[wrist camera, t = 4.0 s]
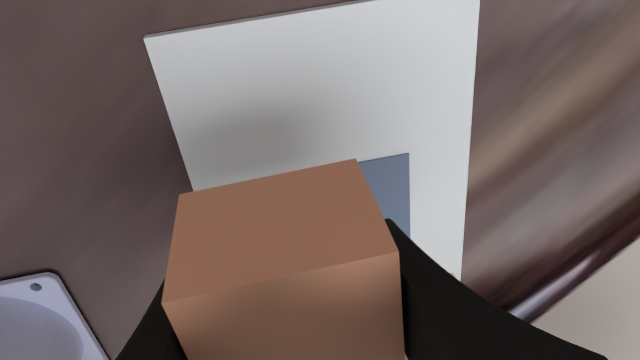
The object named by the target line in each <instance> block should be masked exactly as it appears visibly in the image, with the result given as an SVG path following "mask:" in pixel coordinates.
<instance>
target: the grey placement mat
mask: <svg viewBox="0 0 640 360" xmlns="http://www.w3.org/2000/svg"><path fill="white" fill-rule="evenodd" d="M479 5H480V0H356V1H350V2H344V3H338V4H331V5H325V6H319V7H313V8H307V9H301V10H295V11H289V12H282V13H276V14H270V15H264V16H258V17H252V18H246V19H240V20H234V21H227V22H221V23H215V24H209V25H203V26H197V27H191V28H185V29H178V30H172V31H166V32H160V33H154V34H148V35H145V36H144V38H143V39H144V42H145V45H146V48H147V51H148V54H149V57H150V60H151V63H152V67H153V70H154V73H155V76H156V79H157V82H158V85H159V88H160V91H161V94H162V97H163V100H164V103H165V106H166V109H167V112H168V115H169V118H170V121H171V124H172V127H173V130H174V133H175V136H176V139H177V142H178V145H179V148H180V151H181V155H182V158H183V161H184V164H185V167H186V170H187V173H188V176H189V179H190V182H191V185H192V188H193V191H198V190H203V189H208V188H212V187H217V186H222V185H227V184H232V183H237V182H242V181H247V180H252V179H256V178H261V177H266V176H271V175H276V174H281V173H286V172H291V171H296V170H300V169H305V168H310V167H315V166H320V165H325V164H330V163H335V162H339V161H344V160H349V159H354V158H356V160H357V162H358V164H359V166H360V168H361V170H362V173H363V175H364V177H365V179H366V181H367V183H368V186H369V188H370V190H371V192H372V194H373V196H374V199H375V201H376V203H377V205H378V207H379V209H380V212H381V214H382V216H383V218H384V219H387V218H390V219H391V220H393V221H394V222H395V223H396V225H397V226H398V227H399V228H400V229H401V230H402V231H403V232H404V233H405V234H406V235H407V236H408V237H409V238H410V239H411V240H412V241H413V242H414V243H415V244H416V245H417V246H418V247H420V248H421V249H422V250H423V251H424V252H425V253H426V254H427V255H428V256H430V257H431V258H432V259H433V260H434V261H435V262H436V263H438V264H439V265H440V266H441V267H442V268H444V269H445V270H446V271H447V272H449V273H453V274H454V276H455V277H456V279H458V280H459V281H460V279H461V264H462V250H463V235H464V221H465V207H466V192H467V178H468V163H469V149H470V135H471V120H472V106H473V91H474V77H475V63H476V48H477V34H478V19H479Z"/></svg>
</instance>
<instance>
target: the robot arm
mask: <svg viewBox="0 0 640 360" xmlns="http://www.w3.org/2000/svg"><path fill="white" fill-rule="evenodd" d="M384 220H385V222H386V225H387V227H388V229H389V231H390V233H391V235H392V238H393V240H394V242H395V244H396V246H397V248H398V251H399V262H400V279H401V297H402V315H403V333H404V350H405V354H406V357H407V359H408V360H608V359H607V358H606V357H605V356H603V355H600V354H598V353H595V352H593V351H590V350H587V349H585V348H582V347H580V346H577V345H575V344H572V343H569V342H567V341H564V340H562V339H560V338H558V337H556V336H553V335H551V334H549V333H547V332H545V331H543V330H541V329H538V328H536V327H534V326H532V325H530V324H529V323H527V322H525V321H523V320H521V319H519V318H517V317H516V316H514V315H512V314H510V313H508V312H506V311H504V310H503V309H501V308H499V307H498V306H496V305H494V304H493V303H491V302H490V301H488V300H486V299H485V298H483V297H482V296H480V295H479V294H477V293H476V292H474V291H473V290H471V289H470V288H469V287H467V286H466V285H464V284H463V283H462V282H460V281H459V280H458V279H456V278H455V277H454V276H452V275H451V274H450V273H449V272H447V271H446V270H445V269H444V268H442V267H441V266H440V265H439V264H438V263H436V262H435V261H434V260H433V259H432V258H431V257H430V256H428V255H427V254H426V253H425V252H424V251H423V250H422V249H421V248H420V247H418V246H417V245H416V244H415V243H414V242H413V241H412V240H411V239H410V238H409V237H408V236H407V235H406V234H405V233H404V232H403V231H402V230H401V229H400V228H399V227H398V226H397V225H396V223H395V222H394V221H393V220H391V219H390V218H387V219H384ZM165 278H166V277H165ZM34 283H37V284H40V285H36V284H34ZM164 284H165V279H164V281H163V283H162V284H161V286H160V288H159V290H158V292H157V294H156V296H155V297H154V299H153V301H152V303H151V304H150V306H149V308H148V310H147V311H146V313H145V315H144V316H143V318H142V320H141V321H140V323H139V325H138V326H137V328H136V330H135V331H134V333H133V334H132V336H131V337H130V339H129V340H128V342H127V343H126V345H125V346H124V348H123V349H122V351H121V353H120V354H119V355H118V357H117V358H116V360H188V358H187V356H186V354H185V352H184V350H183V348H182V346H181V344H180V342H179V340H178V337H177V335H176V333H175V331H174V329H173V327H172V325H171V323H170V321H169V319H168V317H167V315H166V312H165V310H164V308H163V306H162V304H161V302H162V296H163V290H164ZM0 360H109V359H108V358H107V356H106V354H105V353H104V351H103V349H102V348H101V346H100V344H99V343H98V341H97V339H96V338H95V336H94V334H93V333H92V331H91V329H90V328H89V326H88V324H87V323H86V321H85V320H84V318H83V316H82V315H81V313H80V311H79V310H78V308H77V306H76V305H75V303H74V301H73V300H72V298H71V296H70V295H69V293H68V291H67V290H66V288H65V286H64V285H63V283H62V281H61V280H60V278H59V277H58V276H57V275H56V274H54V273H50V272H46V273H40V274H35V275H29V276H24V277H19V278H14V279H9V280H4V281H0Z"/></svg>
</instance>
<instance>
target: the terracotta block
mask: <svg viewBox="0 0 640 360" xmlns="http://www.w3.org/2000/svg"><path fill="white" fill-rule="evenodd" d="M161 304H162V306H163V308H164V310H165V312H166V315H167V317H168V319H169V321H170V323H171V325H172V327H173V329H174V331H175V333H176V335H177V337H178V340H179V342H180V344H181V346H182V348H183V350H184V352H185V354H186V356H187V358H188V360H405V350H404V333H403V315H402V297H401V279H400V262H399V251H398V248H397V246H396V244H395V242H394V240H393V238H392V235H391V233H390V231H389V229H388V227H387V225H386V222H385V220H384V218H383V216H382V214H381V212H380V209H379V207H378V205H377V203H376V201H375V199H374V196H373V194H372V192H371V190H370V188H369V186H368V183H367V181H366V179H365V177H364V175H363V173H362V170H361V168H360V166H359V164H358V162H357V160H356V158H354V159H349V160H344V161H339V162H335V163H330V164H325V165H320V166H315V167H310V168H305V169H300V170H296V171H291V172H286V173H281V174H276V175H271V176H266V177H261V178H256V179H252V180H247V181H242V182H237V183H232V184H227V185H222V186H217V187H212V188H208V189H203V190H198V191H193V192H188V193H183V194H179V199H178V205H177V211H176V217H175V223H174V229H173V235H172V241H171V247H170V253H169V259H168V265H167V271H166V278H165V284H164V290H163V296H162V302H161Z"/></svg>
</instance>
